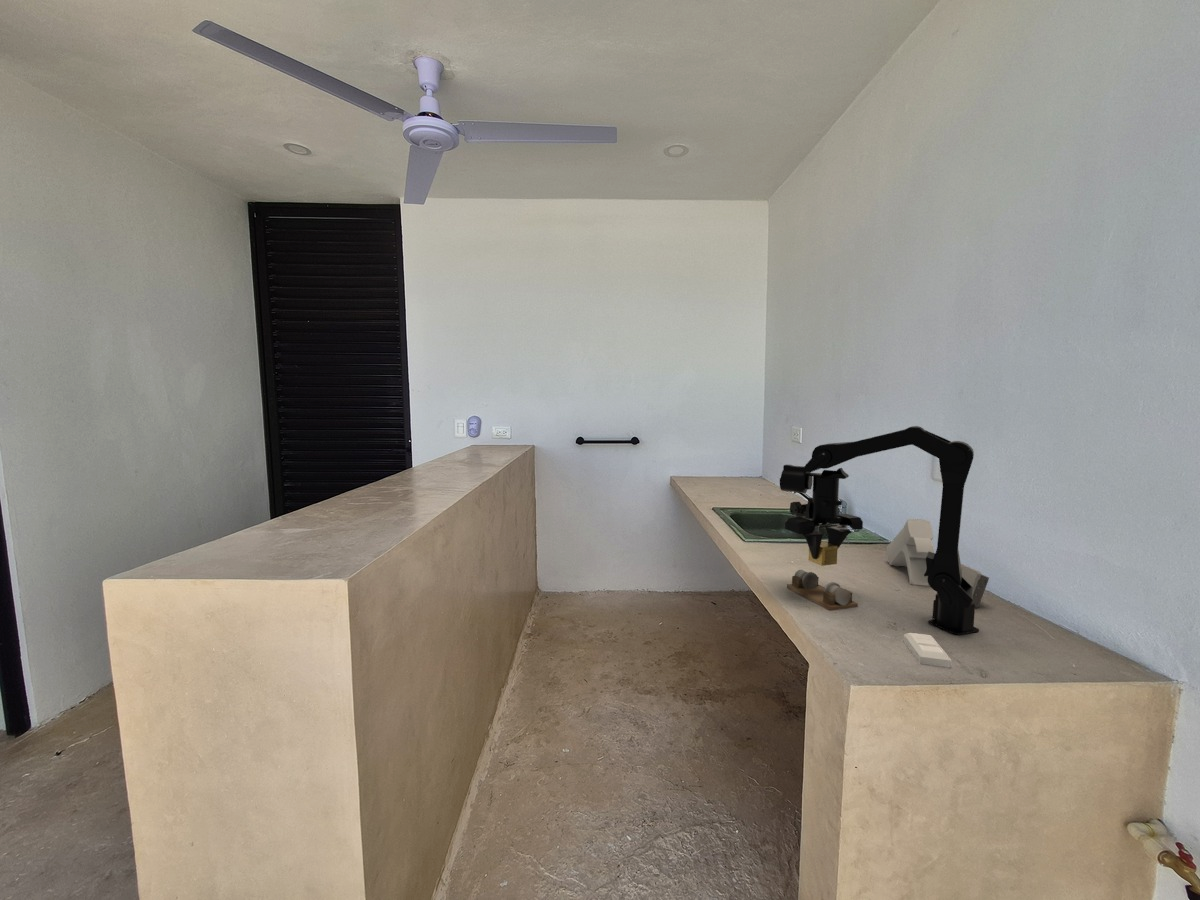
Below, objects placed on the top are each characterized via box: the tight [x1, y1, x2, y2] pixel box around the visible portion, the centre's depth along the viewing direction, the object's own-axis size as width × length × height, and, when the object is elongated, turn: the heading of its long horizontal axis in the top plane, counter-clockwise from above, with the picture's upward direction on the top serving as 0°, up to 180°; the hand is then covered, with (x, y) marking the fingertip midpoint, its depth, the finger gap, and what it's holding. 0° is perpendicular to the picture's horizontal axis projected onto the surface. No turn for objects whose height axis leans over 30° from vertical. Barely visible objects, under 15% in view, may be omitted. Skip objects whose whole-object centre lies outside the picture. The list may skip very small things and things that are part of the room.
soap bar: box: [903, 632, 953, 669], centre depth 92 cm, size 5×9×3 cm, turn 164°
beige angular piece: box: [886, 518, 935, 587], centre depth 134 cm, size 6×16×20 cm
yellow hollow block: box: [807, 540, 839, 567], centre depth 119 cm, size 5×4×4 cm
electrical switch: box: [961, 563, 990, 609], centre depth 117 cm, size 9×5×9 cm, turn 0°
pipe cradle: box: [786, 569, 858, 611], centre depth 119 cm, size 15×8×5 cm, turn 17°
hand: (822, 557), depth 119 cm, fingers closed on yellow hollow block, 4 cm apart
